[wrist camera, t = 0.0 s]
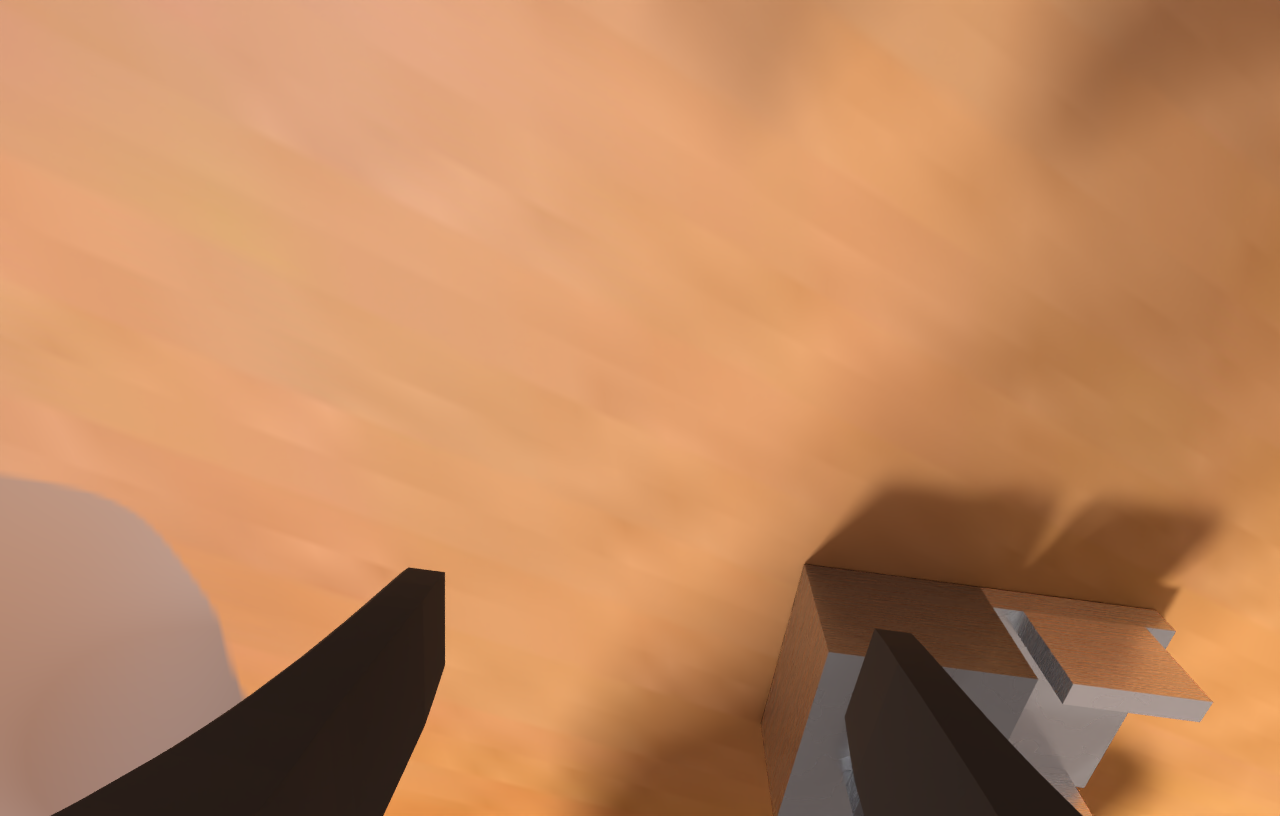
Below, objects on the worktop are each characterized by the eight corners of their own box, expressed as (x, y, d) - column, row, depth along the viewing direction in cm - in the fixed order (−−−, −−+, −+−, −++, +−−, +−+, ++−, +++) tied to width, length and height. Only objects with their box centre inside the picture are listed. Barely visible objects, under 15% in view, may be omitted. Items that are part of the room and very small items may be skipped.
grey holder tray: (1069, 763, 26) (1158, 912, 21) (760, 723, 26) (779, 863, 21) (1155, 610, 23) (1283, 743, 18) (804, 564, 23) (837, 685, 18)
